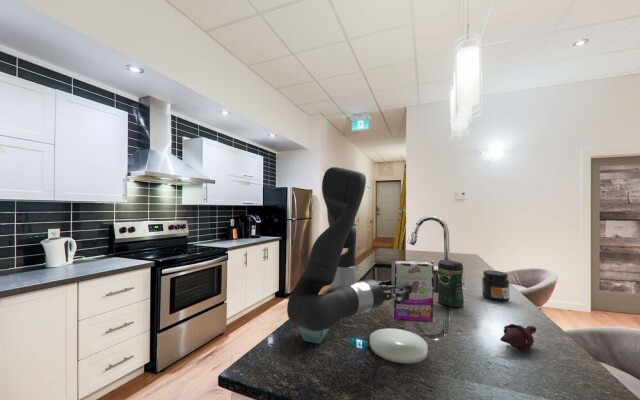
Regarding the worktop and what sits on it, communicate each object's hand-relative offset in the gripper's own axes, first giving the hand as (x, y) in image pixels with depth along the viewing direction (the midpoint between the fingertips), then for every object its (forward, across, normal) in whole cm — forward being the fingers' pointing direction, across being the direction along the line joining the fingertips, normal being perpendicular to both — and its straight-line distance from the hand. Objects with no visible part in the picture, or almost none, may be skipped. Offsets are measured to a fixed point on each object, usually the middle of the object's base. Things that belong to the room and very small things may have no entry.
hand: (399, 286), depth 77 cm
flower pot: (-17, +18, +18) cm, 31 cm away
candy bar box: (+3, -2, +9) cm, 10 cm away
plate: (-1, 0, +17) cm, 17 cm away
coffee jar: (+48, +8, +17) cm, 52 cm away
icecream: (+27, -22, +17) cm, 39 cm away
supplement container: (+72, -2, +16) cm, 74 cm away
